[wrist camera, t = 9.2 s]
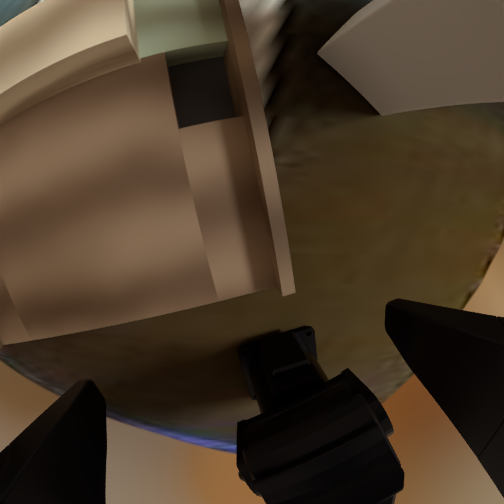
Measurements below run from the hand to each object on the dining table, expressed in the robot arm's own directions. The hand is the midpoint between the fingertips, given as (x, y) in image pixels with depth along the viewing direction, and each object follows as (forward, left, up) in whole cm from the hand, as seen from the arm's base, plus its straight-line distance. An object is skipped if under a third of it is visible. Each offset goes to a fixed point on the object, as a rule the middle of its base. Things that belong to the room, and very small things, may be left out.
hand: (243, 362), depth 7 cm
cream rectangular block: (+15, +8, -10) cm, 19 cm away
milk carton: (+12, -15, -13) cm, 23 cm away
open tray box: (+8, +8, -13) cm, 17 cm away
